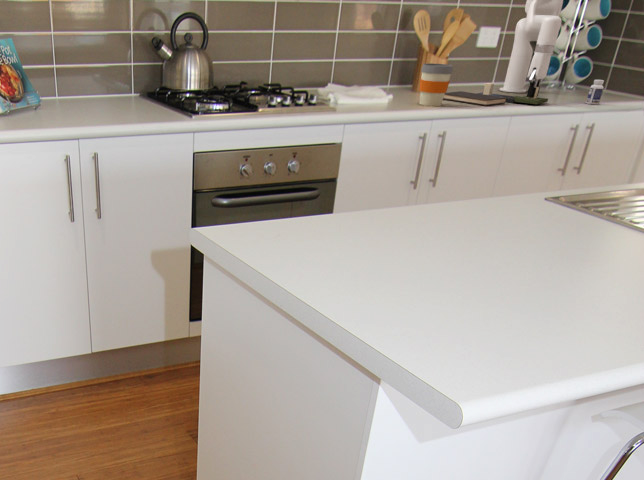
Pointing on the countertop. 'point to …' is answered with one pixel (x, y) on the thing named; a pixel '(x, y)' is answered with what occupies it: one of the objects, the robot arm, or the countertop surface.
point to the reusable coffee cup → (434, 83)
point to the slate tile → (489, 90)
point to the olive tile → (531, 99)
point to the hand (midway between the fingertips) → (532, 96)
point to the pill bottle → (595, 92)
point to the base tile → (509, 99)
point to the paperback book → (474, 98)
